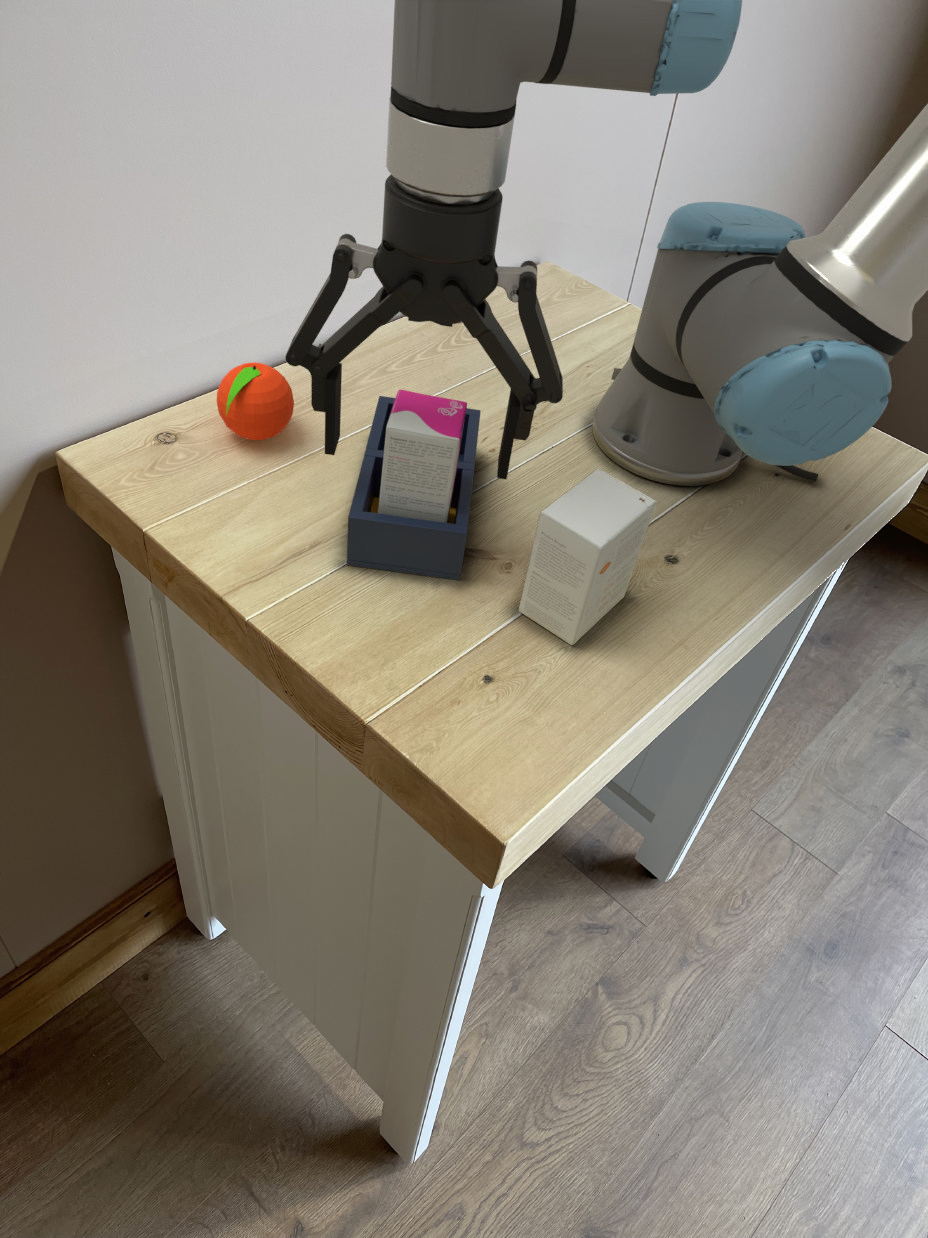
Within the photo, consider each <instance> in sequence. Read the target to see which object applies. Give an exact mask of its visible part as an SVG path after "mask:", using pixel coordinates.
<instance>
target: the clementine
mask: <svg viewBox="0 0 928 1238" xmlns="http://www.w3.org/2000/svg"><path fill="white" fill-rule="evenodd" d="M216 406H217V410H218V415H219V417H220V418H221V419H222V422H223V423H224V425H225V426H226V428H228V429H229V430H230V431H231V432H233V433H234V435H236V436H239V437H240V438H243V439H247V440H251V441H264V440H268V439H271V438H273V437H276V436H277V435H279V434H280V433H281V432H283V430H285V429H286V427H287V426H288V425H289V423H290V421H291V419H292V417H293V414H294V408H295V400H294V394H293V390H292V388H291V386H290V383H289V381H288V380H287V379H286V377H285V376H284V375H283V374H282V373H281V372H280V371H278V370H277V369H276V368H273V367H272V366H270V365H268V364H265V363H261V362H245V363H241V364H240V365H237V366H235V367H233V368H232V369H230V370H229V371H228V372H227V373H226V374H225V375H224V376H223V378H222V379H221V381H220V384H219V386H218V389H217V391H216Z"/></svg>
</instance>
